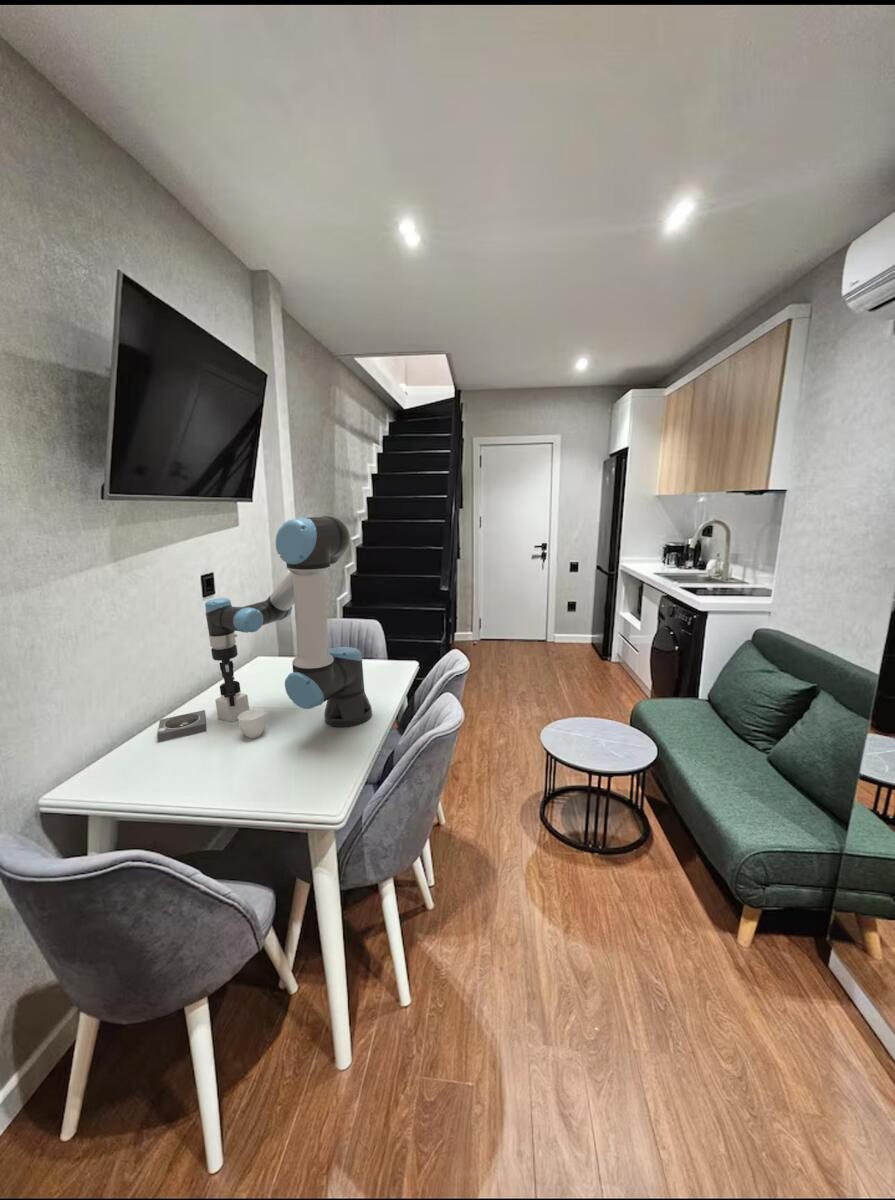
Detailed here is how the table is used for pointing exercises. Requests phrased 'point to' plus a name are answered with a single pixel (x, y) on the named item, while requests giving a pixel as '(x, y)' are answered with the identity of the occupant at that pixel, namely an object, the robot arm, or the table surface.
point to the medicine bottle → (223, 707)
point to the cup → (252, 722)
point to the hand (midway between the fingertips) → (232, 706)
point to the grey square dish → (181, 725)
